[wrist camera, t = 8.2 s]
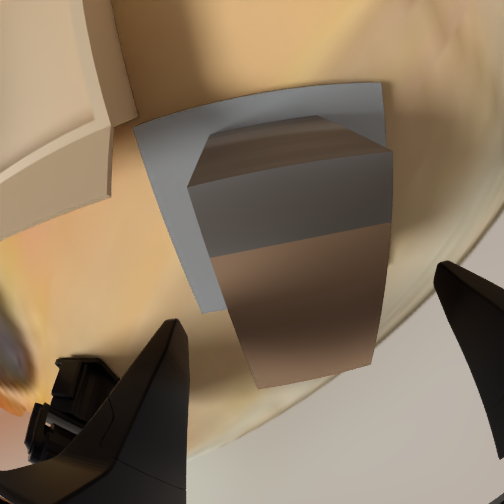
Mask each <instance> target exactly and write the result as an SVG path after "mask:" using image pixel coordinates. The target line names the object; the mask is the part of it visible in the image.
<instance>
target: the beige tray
mask: <svg viewBox="0 0 504 504" xmlns="http://www.w3.org/2000/svg"><path fill="white" fill-rule="evenodd" d="M137 117H139V116H138V113H137V109H136V106H135V102H134V99H133V95H132V91H131V87H130V84H129V80H128V76H127V72H126V68H125V64H124V60H123V55H122V51H121V47H120V42H119V38H118V33H117V29H116V24H115V19H114V14H113V9H112V4H111V0H0V241H2V240H4V239H6V238H8V237H10V236H13V235H15V234H17V233H19V232H22V231H24V230H26V229H28V228H31V227H33V226H36V225H38V224H40V223H43V222H45V221H48V220H50V219H53V218H55V217H58V216H60V215H63V214H66V213H68V212H71V211H74V210H76V209H79V208H82V207H85V206H87V205H90V204H93V203H96V202H99V201H102V200H105V199H108V198H111V177H112V153H113V138H114V129H113V127H116V126H118V125H120V124H122V123H125V122H127V121H129V120H132V119H134V118H137Z"/></svg>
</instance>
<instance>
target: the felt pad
mask: <svg viewBox="0 0 504 504" xmlns="http://www.w3.org/2000/svg"><path fill="white" fill-rule="evenodd" d="M314 115H318V116H320V117H322V118H325V119H327V120H329V121H332V122H334V123H336V124H338V125H341V126H343V127H345V128H347V129H349V130H351V131H354V132H356V133H358V134H360V135H362V136H364V137H366V138H368V139H370V140H372V141H374V142H376V143H378V144H379V145H381V146H383V147H385V148H386V130H385V116H384V105H383V95H382V86H381V83H378V82H356V83H338V84H324V85H314V86H304V87H296V88H288V89H281V90H274V91H268V92H262V93H256V94H251V95H246V96H241V97H236V98H231V99H227V100H222V101H218V102H214V103H209V104H205V105H201V106H198V107H194V108H190V109H187V110H183V111H180V112H176V113H173V114H169V115H166V116H163V117H160V118H157V119H154V120H151V121H148V122H145V123H142V124H139V125H137V126H135V127H133V131H134V134H135V137H136V140H137V144H138V147H139V150H140V153H141V156H142V159H143V162H144V165H145V168H146V171H147V174H148V177H149V180H150V183H151V186H152V189H153V192H154V195H155V197H156V200H157V203H158V206H159V208H160V211H161V214H162V217H163V219H164V222H165V225H166V227H167V230H168V232H169V235H170V238H171V240H172V243H173V245H174V248H175V250H176V253H177V255H178V258H179V260H180V263H181V265H182V268H183V270H184V272H185V275H186V277H187V280H188V282H189V284H190V287H191V289H192V291H193V294H194V296H195V298H196V301H197V303H198V305H199V307H200V310H201V312H202V314H203V313H209V312H215V311H221V310H227V306H226V303H225V301H224V298H223V295H222V292H221V289H220V287H219V284H218V281H217V278H216V275H215V272H214V269H213V266H212V263H211V261H210V258H209V255H208V252H207V249H206V246H205V243H204V240H203V237H202V234H201V230H200V227H199V224H198V221H197V218H196V215H195V212H194V209H193V206H192V202H191V199H190V196H189V193H188V190H187V186H188V184H189V181H190V179H191V176H192V174H193V171H194V169H195V167H196V164H197V162H198V160H199V157H200V155H201V153H202V151H203V148H204V146H205V144H206V142H207V139H208V137H209V135H210V134H215V133H219V132H223V131H228V130H232V129H237V128H242V127H246V126H252V125H257V124H262V123H268V122H273V121H279V120H286V119H292V118H299V117H306V116H314Z"/></svg>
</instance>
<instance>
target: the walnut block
mask: <svg viewBox="0 0 504 504" xmlns="http://www.w3.org/2000/svg"><path fill="white" fill-rule="evenodd" d="M187 190H188V193H189V196H190V199H191V202H192V206H193V209H194V212H195V215H196V218H197V221H198V224H199V227H200V230H201V234H202V237H203V240H204V243H205V246H206V249H207V252H208V255H209V258H210V261H211V263H212V266H213V269H214V272H215V275H216V278H217V281H218V284H219V287H220V289H221V292H222V295H223V298H224V301H225V303H226V306H227V309H228V312H229V315H230V317H231V320H232V323H233V325H234V328H235V331H236V334H237V336H238V339H239V342H240V344H241V347H242V349H243V352H244V355H245V357H246V360H247V363H248V365H249V368H250V370H251V373H252V375H253V378H254V380H255V383H256V385H257V388H258V389H262V388H269V387H275V386H281V385H286V384H291V383H297V382H302V381H307V380H311V379H316V378H320V377H325V376H329V375H333V374H337V373H341V372H345V371H349V370H353V369H356V368H360V367H363V366H367V365H370V364H371V361H372V357H373V352H374V348H375V343H376V338H377V333H378V328H379V322H380V316H381V311H382V304H383V298H384V291H385V284H386V276H387V267H388V258H389V247H390V235H391V220H392V196H393V152H392V151H391V150H389V149H387V148H385V147H383V146H381V145H379V144H378V143H376V142H374V141H372V140H370V139H368V138H366V137H364V136H362V135H360V134H358V133H356V132H354V131H351V130H349V129H347V128H345V127H343V126H341V125H338V124H336V123H334V122H332V121H329V120H327V119H325V118H322V117H320V116H318V115H314V116H306V117H299V118H292V119H286V120H279V121H273V122H268V123H262V124H257V125H252V126H246V127H242V128H237V129H232V130H228V131H223V132H219V133H215V134H210V135H209V137H208V139H207V142H206V144H205V146H204V148H203V151H202V153H201V155H200V157H199V160H198V162H197V164H196V167H195V169H194V171H193V174H192V176H191V179H190V181H189V184H188V186H187Z"/></svg>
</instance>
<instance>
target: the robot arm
mask: <svg viewBox="0 0 504 504" xmlns="http://www.w3.org/2000/svg"><path fill="white" fill-rule="evenodd" d="M433 283H434V288H435V290H436V292H437V295H438V297H439V300H440V302H441V304H442V307H443V309H444V312H445V315H446V317H447V319H448V322H449V324H450V326H451V328H452V330H453V332H454V334H455V336H456V339H457V341H458V343H459V345H460V347H461V349H462V352H463V354H464V356H465V359H466V361H467V363H468V365H469V368H470V370H471V373H472V375H473V378H474V380H475V383H476V386H477V388H478V391H479V394H480V396H481V399H482V402H483V405H484V408H485V411H486V413H487V417H488V421H489V424H490V427H491V430H492V434H493V438H494V441H495V445H496V449H497V453H498V457H499V459H502V458H503V457H504V289H503V288H501V287H499V286H497V285H495V284H494V283H492V282H490V281H488V280H486V279H484V278H482V277H480V276H478V275H476V274H474V273H472V272H470V271H469V270H466V269H465V268H463V267H460V266H458V265H456V264H454V263H452V262H450V261H443V262H440V263H438V265H437V268H436V272H435V276H434V282H433ZM55 364H56V366H57V367H58V368H59V369H60V370H59V372H58V375H57V378H56V381H55V383H54V386H53V389H52V393H51V394H52V396H53V398H52V401H51V404H50V405H49V404H47V403H44V404H43V405H42V404H39V403H35V405H34V408H33V411H32V414H31V417H30V421H29V424H28V428H27V433H26V437H25V442H24V443H25V445H26V447H27V449H28V454H29V456H28V461H29V462H31V463H33V464H32V465H28V466H25V467H21V468H17V469H13V470H8V471H0V495H1V496H2V497H1V496H0V504H186V456H187V426H188V405H189V388H190V373H189V352H188V337H187V334H186V332H185V330H184V329H183V327H182V325H181V323H180V321H179V320H178V319H176V318H175V319H168V320H166V321H164V323H163V324H162V325H161V326H160V328H159V329H158V330H157V332H156V333H155V334H154V336H153V337H152V338H151V340H150V341H149V342H148V344H147V345H146V346H145V348H144V349H143V350H142V351H141V353H140V354H139V355H138V357H137V358H136V359H135V361H134V362H133V363H132V365H131V366H130V367H129V369H128V370H127V372H126V373H125V374H124V376H123V377H122V378H121V380H119V379H118V378H117V377H116V376H115V375H114V374H113V373H112V372H111V370H110V369H109V368H108V367H107V366H106V365H105V364H104V363H103V362H102V361H101V360H99V359H57V360H56V362H55ZM45 422H47V423H49V424H51V426H50V427H49V426H47V425H45ZM3 497H4V498H3ZM489 504H504V493H503V494H502V495H500V496H499V497H498V498H496V499H495V500H493V501H492V502H491V503H489Z"/></svg>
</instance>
